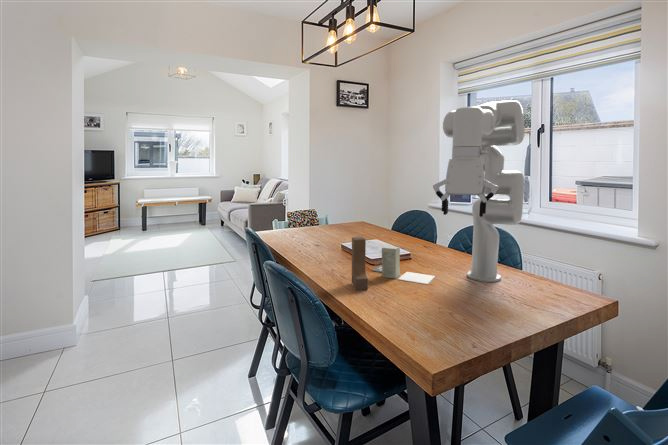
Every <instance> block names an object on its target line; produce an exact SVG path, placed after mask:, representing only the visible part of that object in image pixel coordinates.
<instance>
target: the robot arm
mask: <svg viewBox="0 0 668 445" xmlns="http://www.w3.org/2000/svg"><path fill="white" fill-rule="evenodd" d="M442 131H443V133H444V135H445V136H446V137H447V138H450V139H451V138H452V147H451V148H452V149H451V159H449V160H448V163H447V167H446V168H447V169H446V175H445V178H444V179H442V180H441V181H439V182H436V183H435V184H433V185H432V188H433V190H434V192H435V195H436V196H437V197H438V199H440V201H441V212H443V216H444V215H448V213H449V200H448V198H449V197H450V196H451V195H456V196H458V195H459V196H477V197H478V198H479V199H476V200H475V201H474V202H473V204H472V207H471V208H472V209H471V211H472V212H471V213H472V222H473V230H472V231H473V232H472V234H473V235H472V250H471V251H472V252H471V268H470V269H471V270H469V271H467V272H466V276H467V278H469V279H470V280H474V281H477V282H485V283H495V282H499V281H501V279H502V276H501V275H500V274H499V273H498V261H499V247H500V233H499V231H498V229H497V228H496V227H495V226H494V225H506V226H507V225H508V226H515V225H518V224H520V223H521V221H522V217H523V208H524V196H525V194H524V193H525V178H524V174H523V172H521V171H519V170H504V166H505V156H504V154H503V152H501V150H500V149H499V148H498V147H501V146H503V147H504V146H509V147H510V146H517V145H521V143H522V142H523V141H524V138H525V116H524V110H523V107H522V104H521V103H520V101H518V100H516V99H515V100H514V99H513V100H500V101H490V102H485V103H482V104H480V105H473V106H463V107H459V108H456V110H451V111H449V112H448V113H446V115H445V116H444V118H443V121H442ZM442 186H444V189H445V190H444V191H445V192H444V193H443V192H442V191H441V189H440V187H442ZM494 196H499V197H502V196H503V197H504V196H505V197H508V198H509V199H503V198H502V199H501V198H493V197H494Z"/></svg>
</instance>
